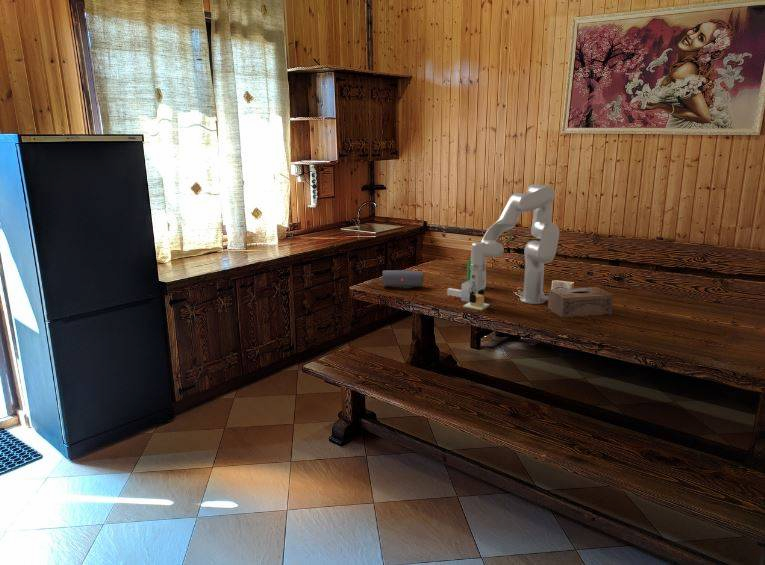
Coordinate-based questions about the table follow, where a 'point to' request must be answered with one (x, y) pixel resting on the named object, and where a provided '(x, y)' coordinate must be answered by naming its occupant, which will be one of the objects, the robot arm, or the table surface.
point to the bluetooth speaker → (402, 278)
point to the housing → (465, 291)
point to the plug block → (478, 300)
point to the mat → (476, 307)
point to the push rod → (454, 292)
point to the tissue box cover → (580, 301)
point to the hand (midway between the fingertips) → (476, 300)
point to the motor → (468, 270)
